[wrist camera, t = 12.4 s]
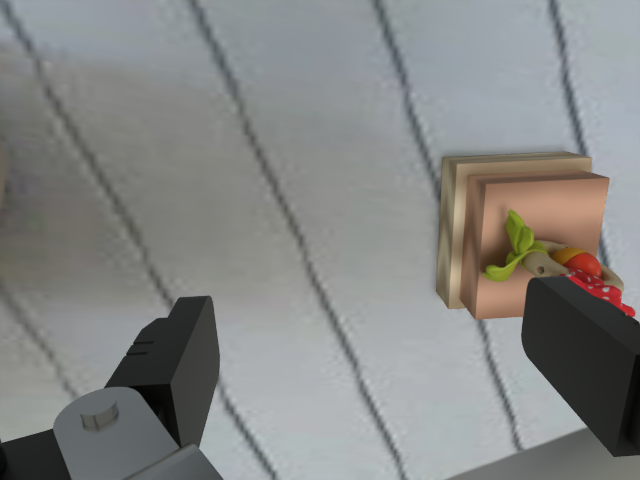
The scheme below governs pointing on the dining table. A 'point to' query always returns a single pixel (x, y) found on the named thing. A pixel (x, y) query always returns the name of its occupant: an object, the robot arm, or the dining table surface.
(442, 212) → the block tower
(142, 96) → the dining table surface
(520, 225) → the bird rattle
